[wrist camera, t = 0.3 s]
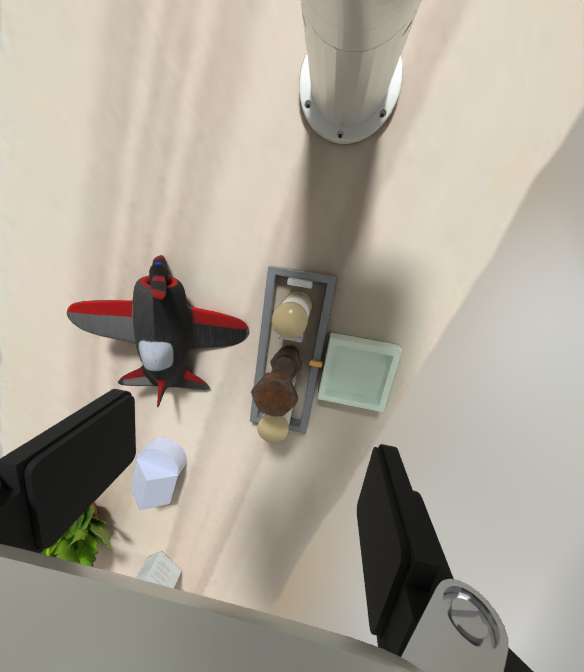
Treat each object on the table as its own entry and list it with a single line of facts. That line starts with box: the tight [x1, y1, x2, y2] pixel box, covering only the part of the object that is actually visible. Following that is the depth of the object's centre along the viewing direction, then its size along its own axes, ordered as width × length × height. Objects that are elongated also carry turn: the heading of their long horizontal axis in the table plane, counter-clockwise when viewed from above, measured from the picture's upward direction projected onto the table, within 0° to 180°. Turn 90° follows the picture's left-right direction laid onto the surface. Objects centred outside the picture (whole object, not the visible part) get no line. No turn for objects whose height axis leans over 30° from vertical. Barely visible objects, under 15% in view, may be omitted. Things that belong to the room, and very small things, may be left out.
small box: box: [136, 551, 182, 588], centre depth 65 cm, size 8×6×10 cm
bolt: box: [251, 346, 302, 417], centre depth 40 cm, size 6×5×15 cm
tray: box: [318, 332, 402, 412], centre depth 45 cm, size 11×11×3 cm
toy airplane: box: [67, 255, 249, 407], centre depth 44 cm, size 28×24×15 cm
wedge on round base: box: [131, 438, 187, 510], centre depth 56 cm, size 9×7×13 cm
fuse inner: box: [272, 291, 312, 338], centre depth 40 cm, size 5×5×10 cm
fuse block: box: [250, 266, 337, 433], centre depth 46 cm, size 11×28×4 cm, turn 171°
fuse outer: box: [257, 408, 293, 443], centre depth 45 cm, size 5×5×10 cm
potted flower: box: [40, 502, 111, 567], centre depth 59 cm, size 25×24×18 cm
